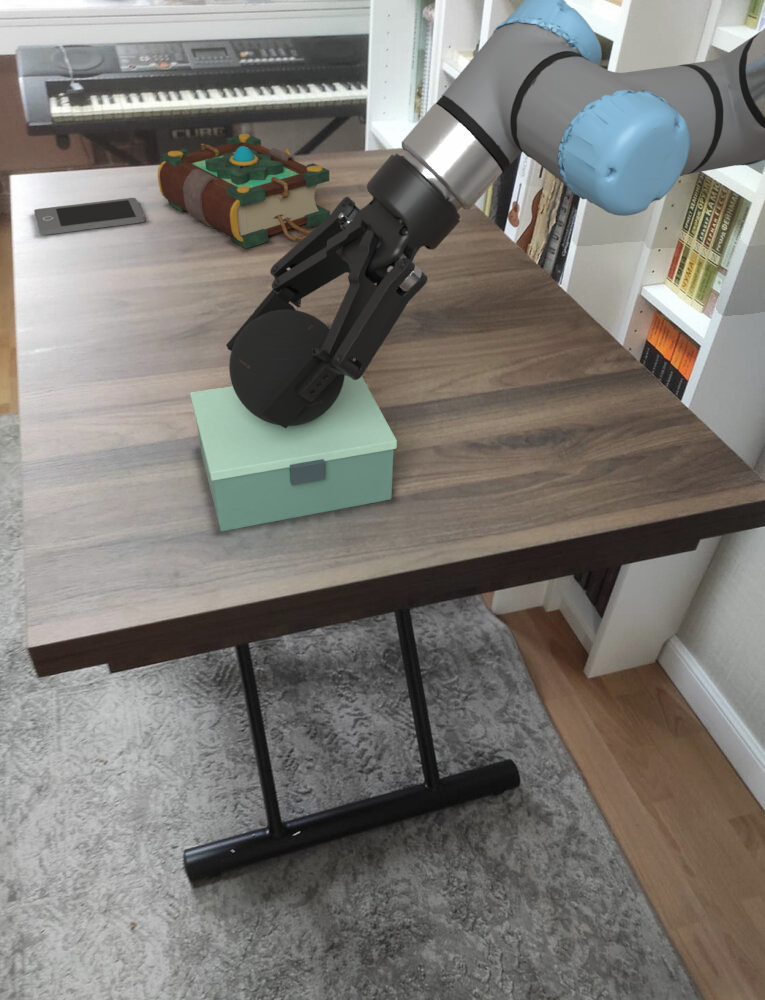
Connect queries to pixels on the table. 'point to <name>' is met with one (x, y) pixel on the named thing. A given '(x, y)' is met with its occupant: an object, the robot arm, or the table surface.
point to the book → (244, 189)
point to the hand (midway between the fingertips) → (254, 385)
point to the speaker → (278, 360)
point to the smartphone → (88, 216)
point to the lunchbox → (293, 457)
